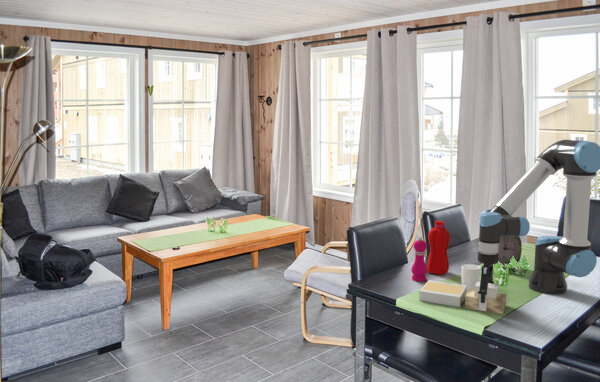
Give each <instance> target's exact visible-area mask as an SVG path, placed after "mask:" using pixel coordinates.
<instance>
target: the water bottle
mask: <svg viewBox="0 0 600 382" xmlns="http://www.w3.org/2000/svg"><path fill="white" fill-rule="evenodd" d="M427 235H428V237H427V239H428V244H429V254H428V258H427V261H426V266H427V273H429V274H433V275H438V276H442V275H445V274H447V273H448V272H449V270H450V263H449V262H450V261H449V257H448V250H449V251H451V250H452V247H453V243H452V241H451V240H452V238H451V234H450V231H449V230H448V229H447V228H446V225H445V221H443V220H435V221H434V227H433V228H431V229H430V230H429V231H428V234H427ZM449 243H450V246H451V248H449Z"/></svg>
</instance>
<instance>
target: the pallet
mask: <svg viewBox="0 0 600 382" xmlns="http://www.w3.org/2000/svg"><path fill="white" fill-rule="evenodd" d="M474 290H475V289H469V291H467V294H466V296H465V298H464V308H465V309H470V310H475V311H480V312H481V311H482V310H479V296H474ZM506 306H507V293H502V292H498V295H497V297H496V299H493V298H487V307H486V311H485V312H487V313H493V314H501V315H503V314H504V311H505V309H506ZM482 312H483V311H482Z"/></svg>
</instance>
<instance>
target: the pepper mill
mask: <svg viewBox="0 0 600 382" xmlns="http://www.w3.org/2000/svg"><path fill="white" fill-rule="evenodd" d="M412 246H413V249H414V251H413V252H414V253H413V254H414V256H415V258H414V262H412V263H413V264H412V266H411V269H410V271H411V273H412V275H411V280H412V281H414V282H419V283H420V282H421V283H422V282H426V280H427V274H428V271H427V263H426V262H425V255H426V250H427V247H428V244H427V242H426V241H425V240H423V237H422V236H419V237H418V240H415V241H414V242H413V245H412Z"/></svg>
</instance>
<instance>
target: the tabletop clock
mask: <svg viewBox="0 0 600 382" xmlns="http://www.w3.org/2000/svg"><path fill="white" fill-rule="evenodd" d="M499 242H500V243H499V252H498V254H499V256H498V261H499V262H500V263H499V264H501V265H502V264H503V265H504V266H506V265H510V264H509V263H510V259H511V258H512V256H514V258H515V260H516V261H517V262H518V263H520V260H521V257H522V240H521V236H519V237H517V236H514V237H500V240H499Z"/></svg>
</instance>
